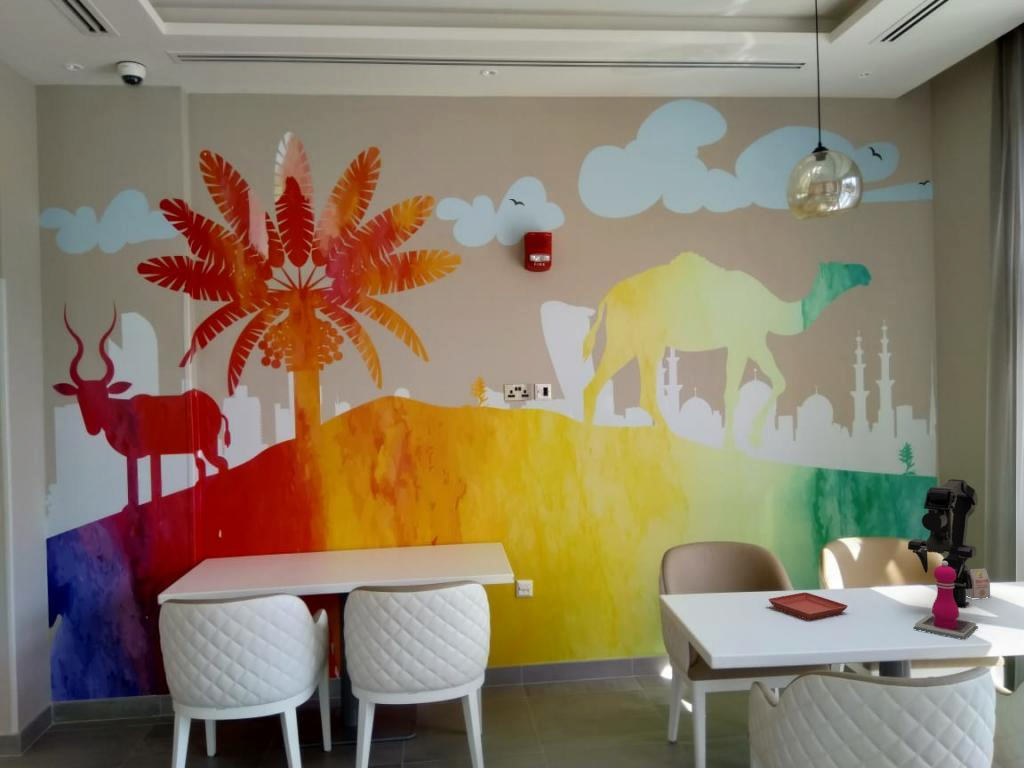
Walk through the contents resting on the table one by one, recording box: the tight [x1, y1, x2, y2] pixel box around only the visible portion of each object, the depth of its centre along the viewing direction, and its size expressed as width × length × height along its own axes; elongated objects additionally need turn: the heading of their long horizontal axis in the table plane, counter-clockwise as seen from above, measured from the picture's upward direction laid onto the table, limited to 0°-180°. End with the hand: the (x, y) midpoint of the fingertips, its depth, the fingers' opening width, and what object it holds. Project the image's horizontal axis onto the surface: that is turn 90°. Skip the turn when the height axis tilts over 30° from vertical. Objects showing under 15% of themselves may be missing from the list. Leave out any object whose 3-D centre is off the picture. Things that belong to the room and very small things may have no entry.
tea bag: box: [965, 567, 991, 598], centre depth 270 cm, size 4×7×10 cm, turn 101°
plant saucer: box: [767, 591, 849, 620], centre depth 257 cm, size 18×18×3 cm
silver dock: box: [912, 614, 979, 640], centre depth 236 cm, size 14×14×2 cm
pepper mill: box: [931, 560, 960, 629], centre depth 237 cm, size 7×7×20 cm
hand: (941, 574), depth 251 cm, fingers open, 9 cm apart
